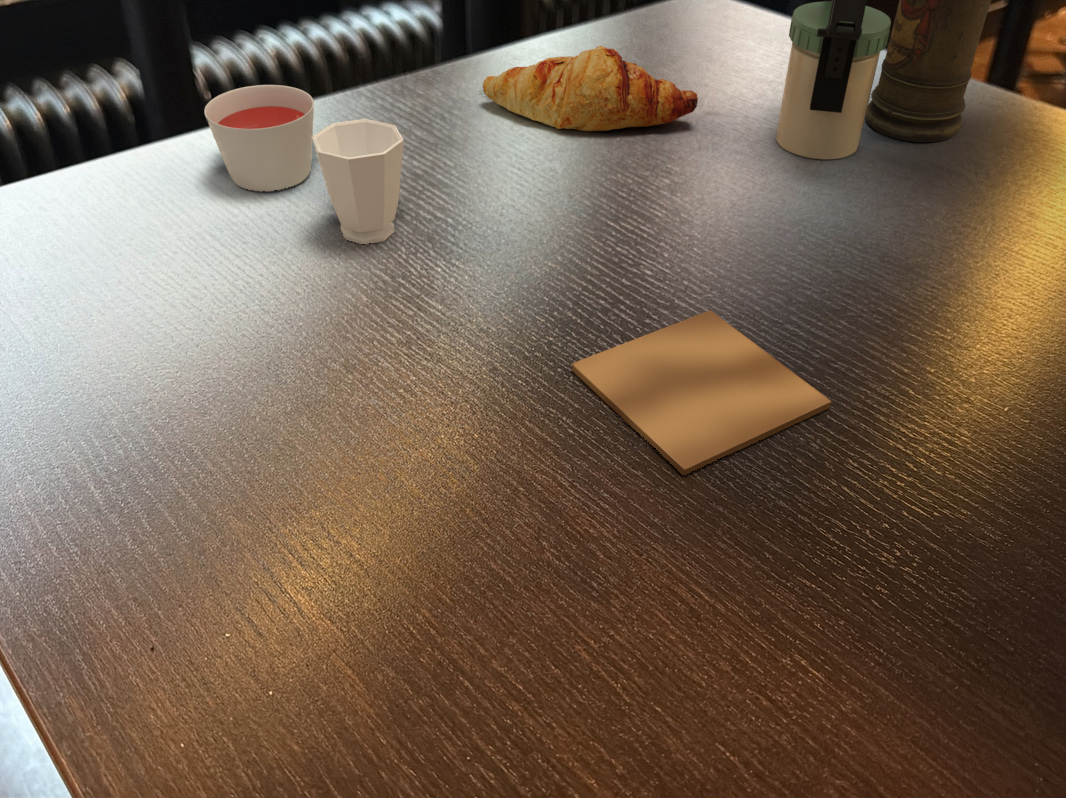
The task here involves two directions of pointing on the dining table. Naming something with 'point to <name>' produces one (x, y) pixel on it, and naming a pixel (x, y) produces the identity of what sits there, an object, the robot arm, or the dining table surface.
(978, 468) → the dining table surface
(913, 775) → the dining table surface
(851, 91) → the jar
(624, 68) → the croissant
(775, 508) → the dining table surface
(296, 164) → the candle
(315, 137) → the cup
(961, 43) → the container
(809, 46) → the lid
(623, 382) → the coaster
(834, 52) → the robot arm
